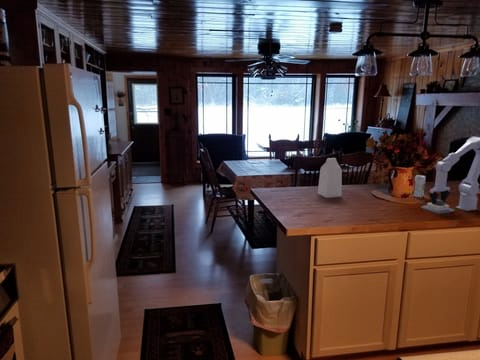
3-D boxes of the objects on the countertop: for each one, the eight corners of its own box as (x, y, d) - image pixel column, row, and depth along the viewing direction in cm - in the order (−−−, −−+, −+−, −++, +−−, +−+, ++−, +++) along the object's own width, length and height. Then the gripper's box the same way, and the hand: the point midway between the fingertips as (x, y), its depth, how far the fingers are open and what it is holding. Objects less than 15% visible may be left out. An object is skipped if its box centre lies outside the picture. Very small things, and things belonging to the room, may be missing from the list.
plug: (436, 206, 226) (437, 199, 225) (442, 208, 223) (443, 200, 221) (432, 207, 225) (433, 199, 223) (438, 209, 221) (439, 201, 220)
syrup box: (414, 194, 257) (416, 174, 254) (423, 196, 254) (426, 175, 250) (412, 196, 253) (414, 176, 250) (421, 198, 249) (423, 177, 246)
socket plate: (435, 205, 232) (436, 200, 231) (454, 211, 220) (455, 205, 220) (420, 208, 227) (421, 202, 226) (439, 214, 215) (439, 208, 215)
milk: (332, 192, 264) (334, 156, 259) (341, 196, 254) (343, 159, 248) (317, 193, 261) (319, 157, 255) (326, 197, 250) (328, 160, 244)
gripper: (443, 179, 226) (440, 200, 229) (426, 181, 221) (423, 202, 224) (454, 181, 220) (451, 203, 223) (436, 183, 214) (433, 205, 217)
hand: (438, 203), depth 223 cm, fingers open, 7 cm apart
